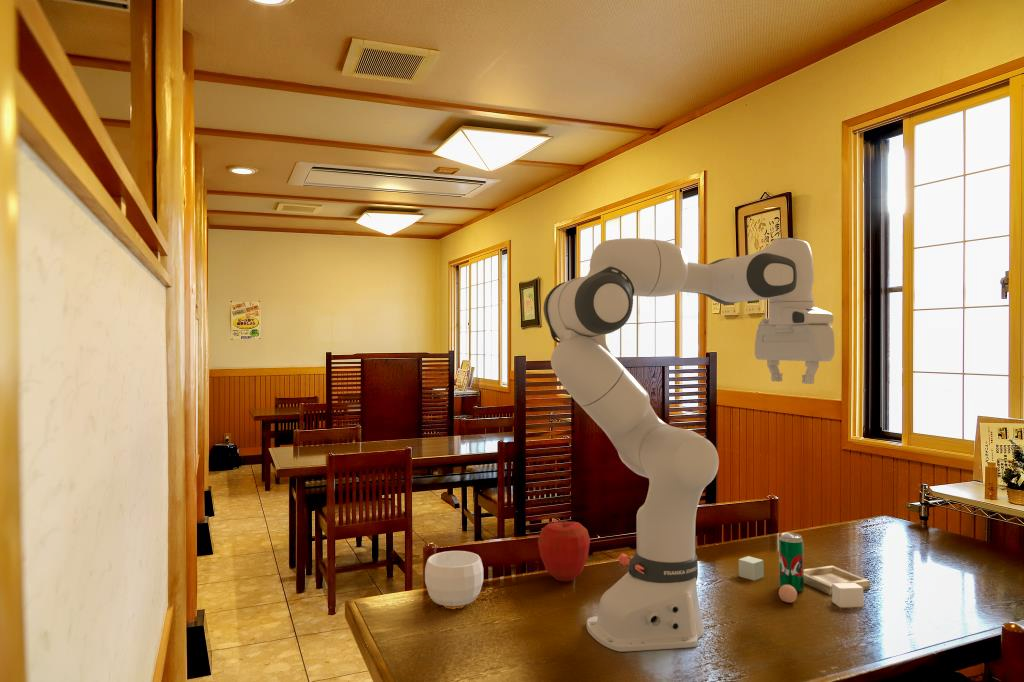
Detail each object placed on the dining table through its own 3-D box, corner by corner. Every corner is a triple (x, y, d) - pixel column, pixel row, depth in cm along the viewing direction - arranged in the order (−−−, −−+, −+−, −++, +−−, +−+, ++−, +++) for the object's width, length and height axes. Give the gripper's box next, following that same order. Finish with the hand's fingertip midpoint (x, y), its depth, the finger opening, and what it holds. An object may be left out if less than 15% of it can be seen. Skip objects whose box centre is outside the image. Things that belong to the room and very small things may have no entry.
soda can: (805, 587, 153) (805, 534, 153) (801, 594, 149) (801, 539, 149) (781, 583, 156) (781, 530, 156) (777, 590, 151) (776, 536, 151)
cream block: (840, 607, 142) (839, 588, 142) (832, 602, 145) (832, 583, 145) (863, 607, 142) (863, 587, 142) (855, 601, 145) (855, 582, 145)
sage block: (754, 580, 158) (753, 563, 158) (738, 576, 161) (738, 559, 161) (763, 577, 160) (763, 560, 160) (748, 572, 164) (748, 556, 164)
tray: (829, 594, 149) (829, 586, 149) (794, 578, 159) (794, 570, 159) (869, 588, 152) (869, 580, 152) (832, 573, 163) (832, 565, 163)
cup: (412, 605, 144) (412, 559, 144) (456, 589, 153) (455, 546, 153) (452, 621, 136) (452, 572, 136) (495, 603, 145) (495, 557, 145)
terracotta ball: (786, 606, 142) (786, 588, 142) (775, 600, 146) (774, 583, 146) (800, 604, 143) (800, 586, 143) (789, 598, 147) (788, 581, 147)
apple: (578, 567, 168) (577, 510, 168) (599, 584, 156) (599, 522, 156) (530, 573, 164) (530, 514, 164) (549, 590, 152) (548, 527, 152)
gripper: (747, 318, 152) (747, 380, 152) (813, 314, 133) (814, 385, 133) (770, 318, 154) (771, 379, 154) (840, 314, 135) (840, 384, 135)
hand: (792, 382), depth 143 cm, fingers open, 8 cm apart
